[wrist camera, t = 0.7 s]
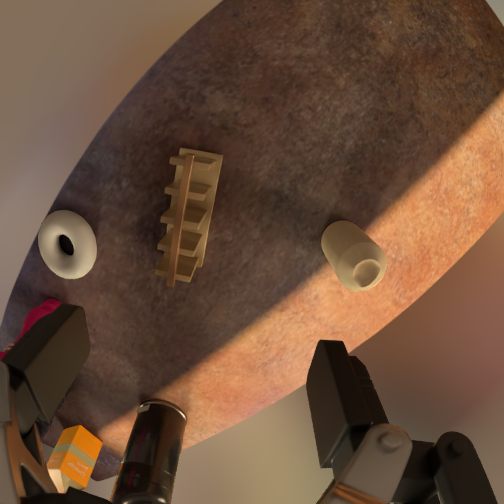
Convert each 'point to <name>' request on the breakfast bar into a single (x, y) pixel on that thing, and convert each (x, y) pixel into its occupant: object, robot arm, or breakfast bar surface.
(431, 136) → the breakfast bar surface
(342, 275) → the candle
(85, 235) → the donut
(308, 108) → the breakfast bar surface
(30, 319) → the pepper mill
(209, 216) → the toast rack
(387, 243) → the breakfast bar surface
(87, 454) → the orange juice
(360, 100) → the breakfast bar surface
